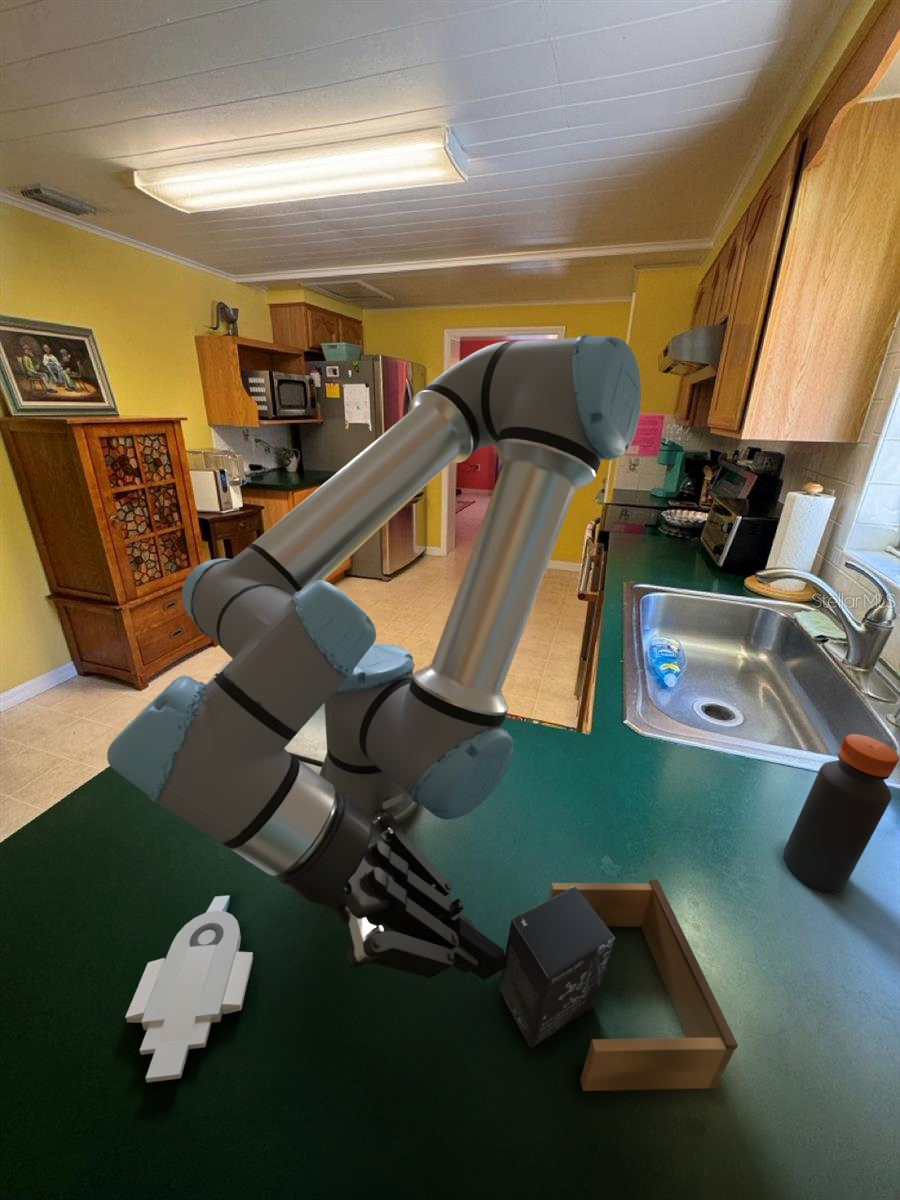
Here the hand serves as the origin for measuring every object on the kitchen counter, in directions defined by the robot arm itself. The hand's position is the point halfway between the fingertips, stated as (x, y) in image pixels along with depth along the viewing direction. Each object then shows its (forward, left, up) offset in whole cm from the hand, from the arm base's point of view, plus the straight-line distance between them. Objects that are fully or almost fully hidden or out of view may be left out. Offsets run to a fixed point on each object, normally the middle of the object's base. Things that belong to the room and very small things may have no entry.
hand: (493, 964), depth 45 cm
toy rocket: (-27, -10, -5) cm, 29 cm away
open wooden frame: (+11, +6, -5) cm, 14 cm away
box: (+5, +2, -5) cm, 8 cm away
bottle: (+34, +32, -5) cm, 47 cm away
